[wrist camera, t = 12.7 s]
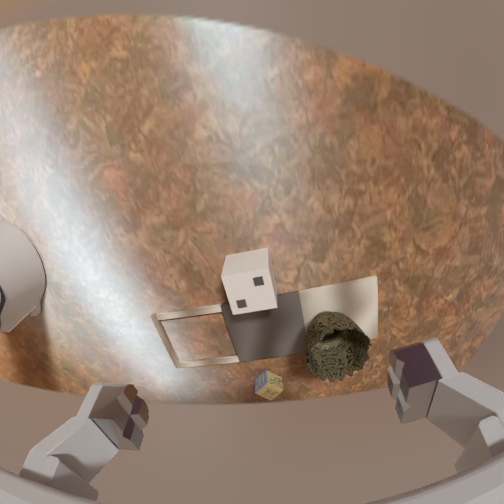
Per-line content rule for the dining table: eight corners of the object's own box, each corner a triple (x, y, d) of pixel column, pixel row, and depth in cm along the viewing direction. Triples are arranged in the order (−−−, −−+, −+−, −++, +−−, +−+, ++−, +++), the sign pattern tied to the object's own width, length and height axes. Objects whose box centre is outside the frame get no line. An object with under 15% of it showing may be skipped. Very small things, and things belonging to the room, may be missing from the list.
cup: (345, 342, 42) (364, 379, 34) (293, 345, 41) (304, 385, 34) (354, 294, 39) (378, 327, 32) (298, 296, 39) (312, 332, 31)
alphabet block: (266, 368, 45) (266, 383, 43) (282, 376, 46) (283, 391, 43) (254, 379, 47) (253, 393, 44) (270, 387, 47) (270, 401, 44)
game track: (176, 365, 46) (176, 367, 45) (151, 313, 42) (150, 316, 41) (376, 335, 42) (377, 337, 41) (375, 275, 38) (377, 277, 37)
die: (236, 291, 40) (233, 315, 35) (226, 255, 38) (220, 276, 33) (276, 284, 39) (277, 308, 34) (268, 247, 37) (268, 268, 32)
